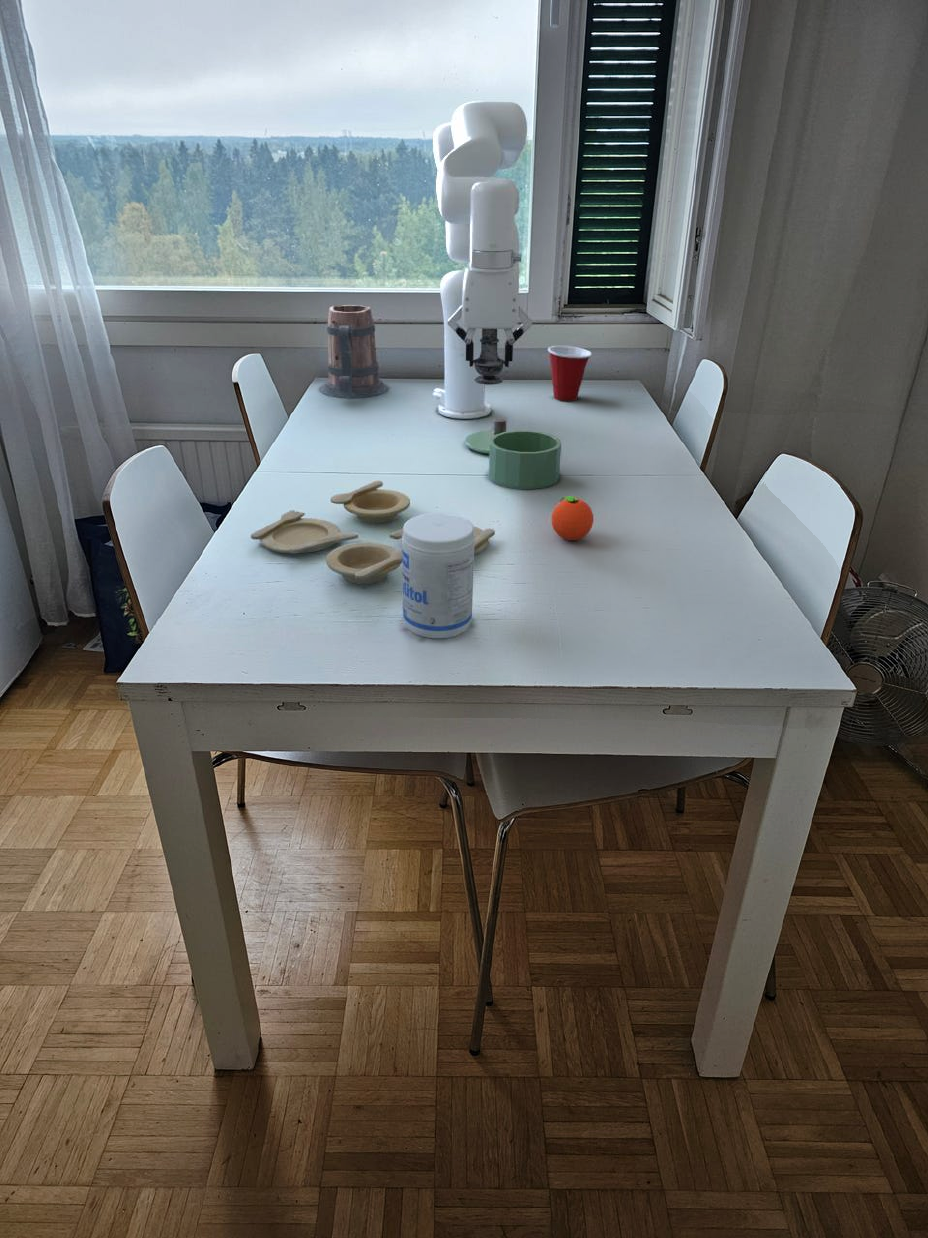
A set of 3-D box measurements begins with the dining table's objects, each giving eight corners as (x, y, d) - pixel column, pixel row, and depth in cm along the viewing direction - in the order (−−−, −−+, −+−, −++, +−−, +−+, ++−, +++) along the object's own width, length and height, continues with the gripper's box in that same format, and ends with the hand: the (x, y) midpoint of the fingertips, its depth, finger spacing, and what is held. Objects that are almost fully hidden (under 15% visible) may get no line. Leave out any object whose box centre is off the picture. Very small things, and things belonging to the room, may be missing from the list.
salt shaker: (505, 377, 164) (507, 310, 158) (502, 385, 159) (505, 317, 153) (474, 375, 165) (475, 309, 159) (471, 384, 160) (472, 316, 154)
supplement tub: (389, 625, 120) (385, 527, 112) (434, 600, 126) (434, 505, 119) (441, 649, 114) (441, 548, 107) (486, 622, 121) (489, 524, 113)
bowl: (490, 489, 164) (491, 453, 161) (487, 464, 176) (488, 430, 172) (561, 489, 164) (564, 453, 161) (554, 464, 176) (557, 430, 173)
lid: (465, 456, 180) (465, 430, 177) (464, 434, 192) (465, 409, 189) (536, 457, 180) (537, 430, 177) (530, 435, 192) (532, 409, 190)
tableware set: (512, 547, 142) (513, 524, 140) (379, 611, 123) (378, 586, 121) (369, 491, 162) (368, 471, 160) (236, 538, 144) (233, 516, 142)
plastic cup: (590, 404, 214) (594, 354, 208) (546, 403, 214) (549, 354, 208) (585, 392, 223) (589, 344, 217) (543, 391, 223) (546, 343, 217)
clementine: (539, 531, 148) (542, 491, 144) (575, 525, 150) (578, 486, 146) (562, 550, 141) (565, 509, 138) (599, 543, 144) (603, 503, 140)
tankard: (327, 379, 232) (321, 300, 222) (390, 380, 231) (387, 301, 221) (310, 404, 211) (303, 319, 201) (379, 405, 211) (376, 320, 201)
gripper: (539, 257, 155) (534, 360, 164) (442, 256, 155) (442, 359, 164) (542, 264, 148) (536, 370, 157) (441, 262, 148) (441, 369, 157)
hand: (488, 364), depth 160 cm, fingers closed on salt shaker, 5 cm apart
